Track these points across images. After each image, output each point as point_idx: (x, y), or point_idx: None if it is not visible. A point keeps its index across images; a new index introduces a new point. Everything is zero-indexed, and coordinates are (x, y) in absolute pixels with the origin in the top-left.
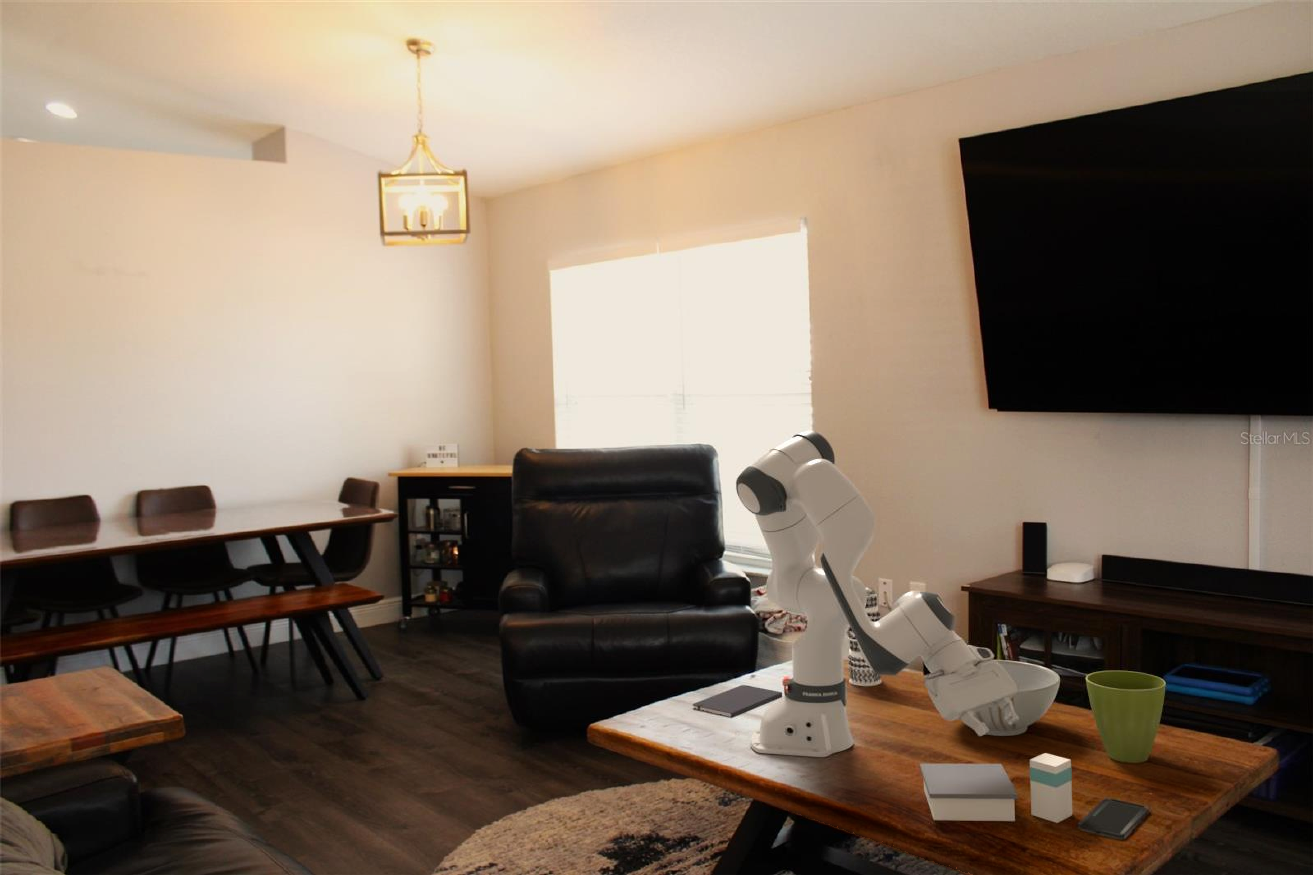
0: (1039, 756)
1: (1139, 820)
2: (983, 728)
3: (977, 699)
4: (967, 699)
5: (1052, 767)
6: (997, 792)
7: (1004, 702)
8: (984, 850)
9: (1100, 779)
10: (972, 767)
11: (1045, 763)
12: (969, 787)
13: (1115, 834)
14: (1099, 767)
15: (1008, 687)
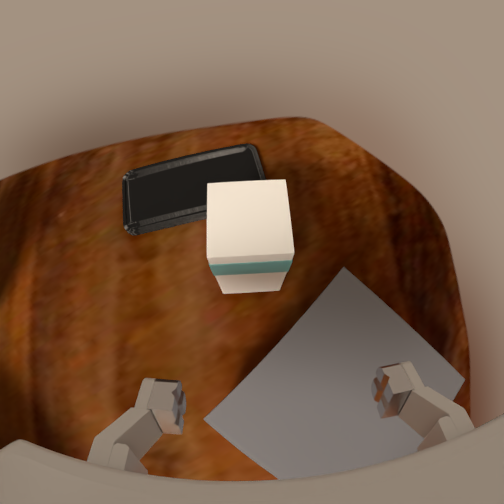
0: (247, 250)
1: (176, 159)
2: (411, 368)
3: (404, 483)
4: (475, 471)
5: (286, 188)
6: (369, 304)
7: (132, 462)
8: (440, 252)
9: (48, 296)
10: (281, 449)
11: (284, 208)
12: (393, 362)
13: (256, 150)
14: (12, 324)
15: (42, 479)
